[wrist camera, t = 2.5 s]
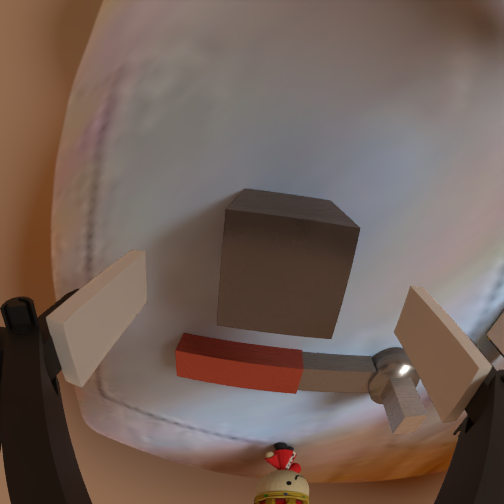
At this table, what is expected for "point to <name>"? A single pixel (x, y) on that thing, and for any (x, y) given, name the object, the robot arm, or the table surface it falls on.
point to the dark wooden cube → (284, 264)
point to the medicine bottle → (497, 334)
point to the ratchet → (307, 373)
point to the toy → (282, 479)
